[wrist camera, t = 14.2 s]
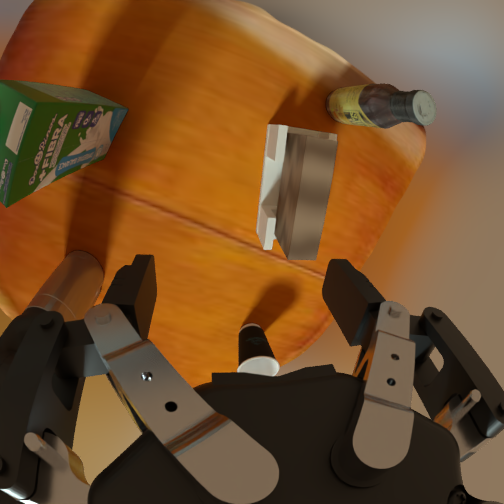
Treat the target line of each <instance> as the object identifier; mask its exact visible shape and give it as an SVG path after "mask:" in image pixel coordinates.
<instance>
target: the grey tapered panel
mask: <svg viewBox="0 0 504 504" xmlns="http://www.w3.org/2000/svg"><path fill="white" fill-rule="evenodd" d="M337 144H338V141H334V140H329V139H324V138H319V137H313V136H307V135H301V134H294V133H287V138H286V146H285V154H284V162H283V166H282V174H281V181H280V189H279V196H278V204H277V211H276V223H275V231H274V235H275V237H276V238H277V240H278V242H279V244H280V246H281V248H282V250H283V251H284V253H285V255H286V257H287V259H288V260H316V257H317V252H318V248H319V243H320V239H321V234H322V229H323V224H324V219H325V214H326V209H327V204H328V198H329V193H330V187H331V182H332V176H333V170H334V164H335V158H336V151H337Z"/></svg>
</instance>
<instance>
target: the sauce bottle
mask: <svg viewBox="0 0 504 504" xmlns="http://www.w3.org/2000/svg"><path fill="white" fill-rule="evenodd" d="M326 108H327V111H328V113H329V115H330V116H331V117H332V118H333V119H334V120H336V121H338V122H340V123H343V124H351V125H360V126H368V127H377V128H384V129H386V128H390V127H392V126H395V125H397V124H399V123H401V122H413V123H415V124H417V125H430V124H431V123H432V122H433V121H434V119H435V117H436V105H435V102H434V99H433V98H432V96H431V95H430V94H429V93H428V92H426V91H423V90H413V91H410V92H404V91H399V90H398V89H397V88H395V87H394V86H392V85H390V84H366V85H358V86H350V87H344V88H339V89H337V90H335V91H332V92H331V93H330V94H329V96H328V98H327V101H326Z"/></svg>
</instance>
